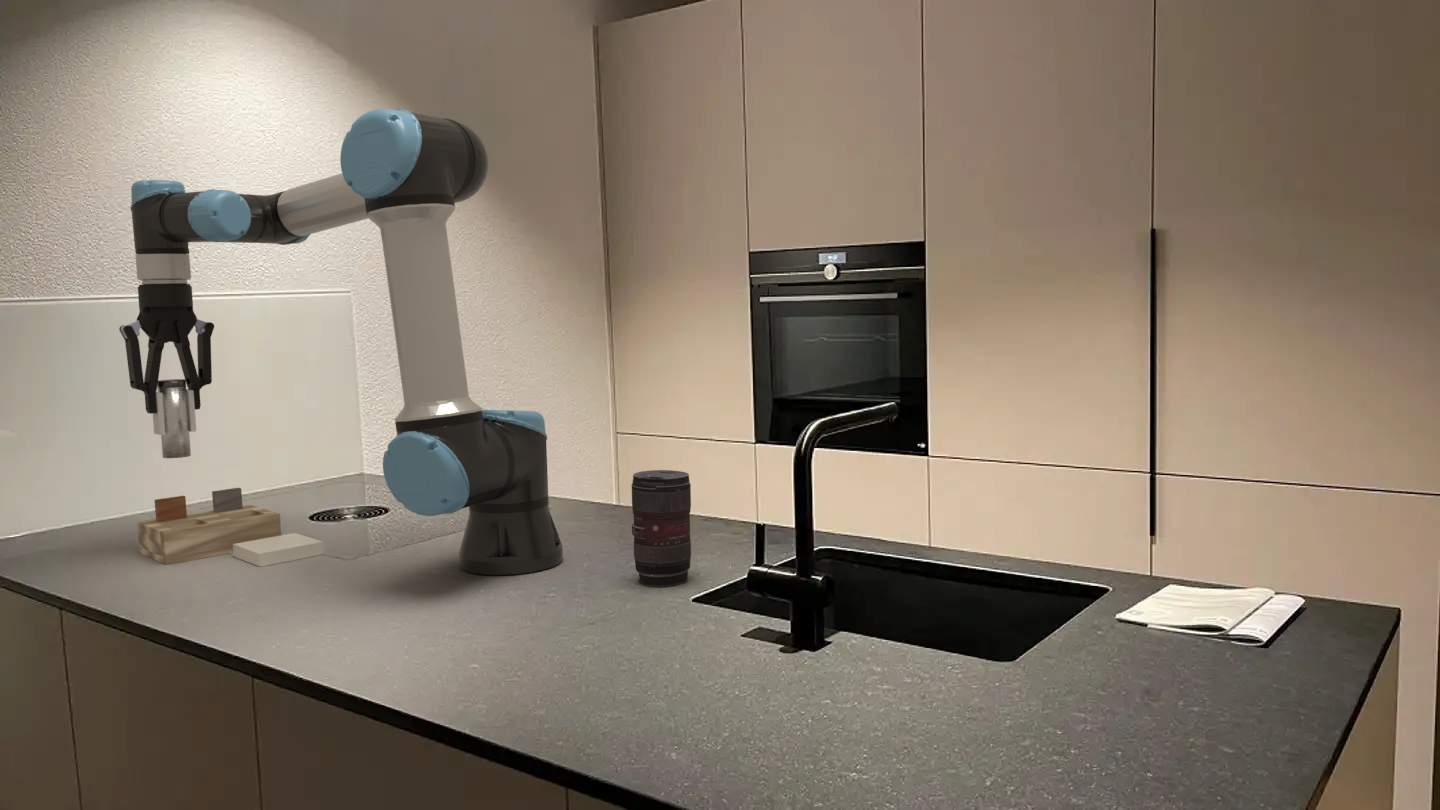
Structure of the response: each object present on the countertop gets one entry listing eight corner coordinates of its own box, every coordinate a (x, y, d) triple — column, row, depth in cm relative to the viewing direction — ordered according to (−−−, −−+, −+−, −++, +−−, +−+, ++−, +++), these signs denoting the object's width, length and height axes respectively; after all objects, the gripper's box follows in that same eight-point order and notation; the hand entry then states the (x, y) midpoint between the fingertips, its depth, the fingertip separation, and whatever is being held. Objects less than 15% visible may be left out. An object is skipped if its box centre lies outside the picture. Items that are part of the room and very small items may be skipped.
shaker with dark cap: (194, 455, 176) (189, 379, 175) (167, 459, 173) (162, 381, 172) (185, 453, 179) (180, 378, 178) (158, 456, 176) (153, 380, 175)
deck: (323, 554, 176) (322, 541, 175) (260, 566, 169) (259, 553, 168) (295, 545, 183) (294, 533, 182) (233, 556, 176) (232, 544, 175)
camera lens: (685, 589, 150) (682, 478, 149) (627, 587, 152) (623, 478, 150) (699, 573, 158) (696, 468, 156) (643, 572, 160) (640, 468, 158)
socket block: (281, 543, 184) (278, 492, 183) (166, 564, 171) (161, 510, 171) (251, 533, 193) (248, 484, 192) (139, 552, 180) (135, 500, 179)
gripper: (211, 281, 182) (221, 424, 184) (96, 283, 170) (108, 436, 173) (229, 281, 177) (239, 428, 179) (112, 283, 165) (124, 440, 167)
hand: (175, 432), depth 176 cm, fingers closed on shaker with dark cap, 4 cm apart
